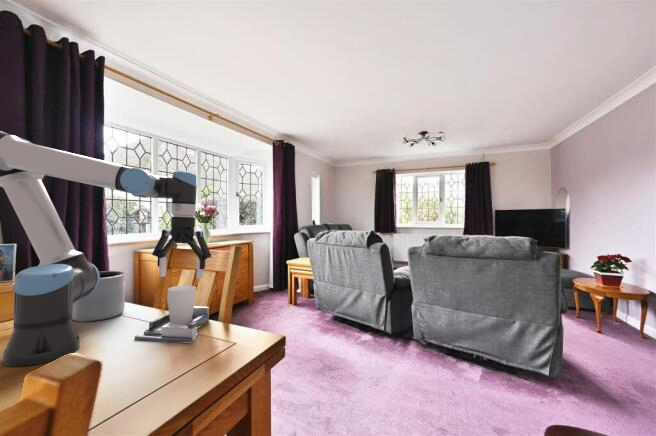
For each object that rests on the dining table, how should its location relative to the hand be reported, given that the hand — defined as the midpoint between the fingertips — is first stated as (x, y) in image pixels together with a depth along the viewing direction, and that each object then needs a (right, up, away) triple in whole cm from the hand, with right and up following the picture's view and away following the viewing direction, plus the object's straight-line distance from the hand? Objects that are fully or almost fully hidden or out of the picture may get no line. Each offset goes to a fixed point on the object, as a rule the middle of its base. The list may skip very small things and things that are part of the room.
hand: (180, 277), depth 103 cm
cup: (0, -16, 0) cm, 16 cm away
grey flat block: (+5, -17, -11) cm, 21 cm away
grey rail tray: (0, -17, -1) cm, 17 cm away
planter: (-35, -16, +9) cm, 40 cm away
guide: (+1, -17, -10) cm, 20 cm away
